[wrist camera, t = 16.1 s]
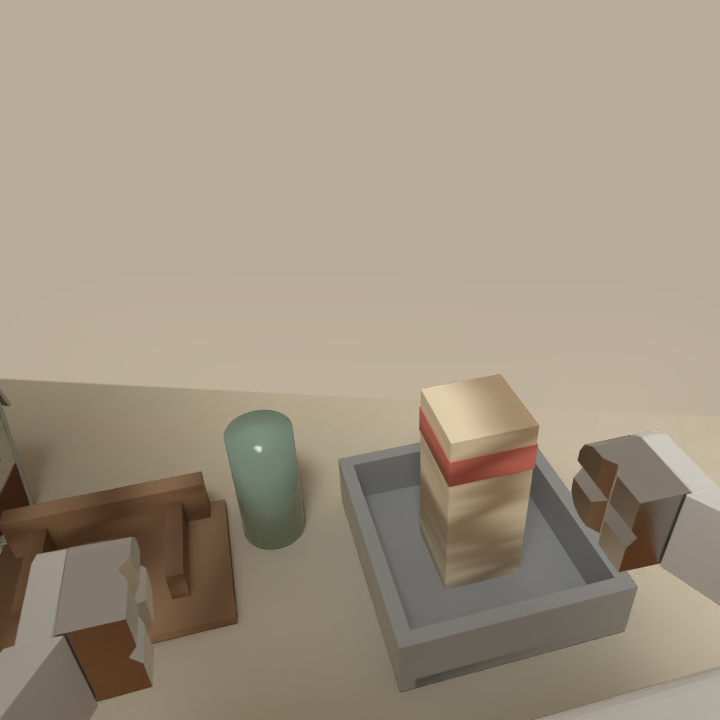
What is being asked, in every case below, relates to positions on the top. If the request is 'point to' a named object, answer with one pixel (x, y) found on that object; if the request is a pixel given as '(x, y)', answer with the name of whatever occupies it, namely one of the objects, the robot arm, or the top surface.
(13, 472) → the food container
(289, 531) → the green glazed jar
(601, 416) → the top surface
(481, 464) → the birch block
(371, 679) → the top surface
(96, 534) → the walnut rack
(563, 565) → the grey tray
